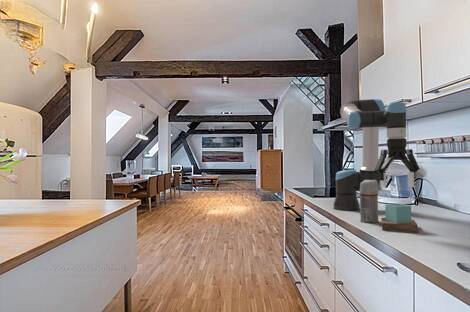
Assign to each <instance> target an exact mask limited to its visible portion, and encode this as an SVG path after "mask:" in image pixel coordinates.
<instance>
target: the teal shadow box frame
mask: <svg viewBox="0 0 470 312" xmlns="http://www.w3.org/2000/svg"><path fill="white" fill-rule="evenodd" d="M397 205H399V206H397ZM384 208H385V218H386V220H387V221H390V222H394V223H410V222H411V219H412V205H409V204H404V203H385V207H384Z"/></svg>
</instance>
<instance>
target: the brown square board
mask: <svg viewBox="0 0 470 312" xmlns="http://www.w3.org/2000/svg"><path fill="white" fill-rule="evenodd" d="M397 206H399V205H397ZM380 220H381V230H382V231H387V232H400V233H401V232H402V233H415V234H418V233H419V231H418V230H419V227H418V223H417V222H416V220H415V219H414V218H413V219H412V218H411V222H410V223H394V222H390V221H387V220H386V217H381V219H380Z"/></svg>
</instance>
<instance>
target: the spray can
mask: <svg viewBox="0 0 470 312" xmlns="http://www.w3.org/2000/svg"><path fill="white" fill-rule="evenodd" d="M378 199H379V191H378V182H377V180H364V181H363V182H361V183H360V191H359V205H360V209H359V212H360V213H359V214H360V217H359V218H360V221H361V222H362V223H367V224H368V223H369V224H370V223H371V224H372V223H373V224H374V223H379V201H378Z"/></svg>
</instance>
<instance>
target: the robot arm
mask: <svg viewBox="0 0 470 312" xmlns="http://www.w3.org/2000/svg"><path fill="white" fill-rule="evenodd" d="M406 105H407V104H406V103H405V102H403V101H393V102H389V103H387V104H386V108H385V104H384V102H383V100H382V99H379V98H376V99H374V98H373V99H353V100H350V101H347V102H345V103H344V104H342V106H340V110H339V114H340V117H341V118H342V119H343V120H345V121H346V125H347V127H348V128H349V129H351V128H352V129H358V128H361V129H362V165H361V167H359V171H357V170H356V169H347V170H340V171H337V172H336V173H335V195H336V196H335V198H334V202H333V205H332V207H333V209H334V210H337V211H338V210H339V211H358V210H359V211H360V201H359V200H358V196H357V192H360V183H361V182H363V181H364V180H377V182H378V192H380V191H382V190H383V189H387V172H386V170H387V169H388V168H389V166H390V165H391V164H392V163H393V161H402V163H403V164H404V166H406V168H407V170H408V172H407V187H408V188H410V187H411V188H415V180H416V173H417V172H418V171H420V166H419V164H418V162H417V160H416V157H415V155H414V150H413V149H411V148H410V149H409V148H407V149H406V147H407V138H406V137H407V106H406ZM380 128H386V138H388V139H386V147H387V149H381V150H380V155H379V136H380V135H379V134H380V133H379V129H380Z"/></svg>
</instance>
